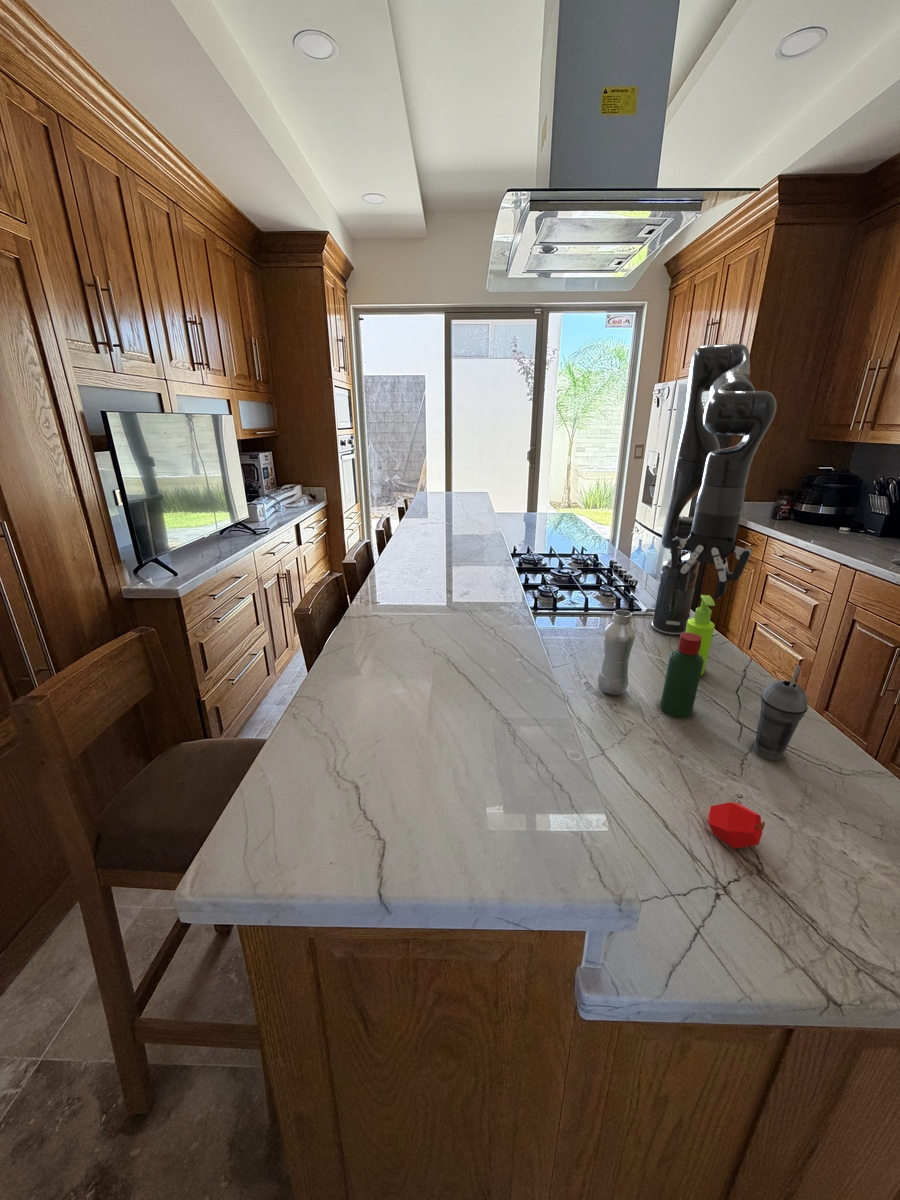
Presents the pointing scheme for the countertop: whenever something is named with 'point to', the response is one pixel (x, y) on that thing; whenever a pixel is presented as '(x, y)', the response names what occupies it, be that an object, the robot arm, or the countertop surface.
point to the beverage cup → (779, 716)
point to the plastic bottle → (616, 654)
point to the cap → (689, 643)
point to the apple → (736, 824)
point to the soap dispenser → (702, 627)
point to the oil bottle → (681, 684)
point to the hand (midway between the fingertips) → (700, 593)
